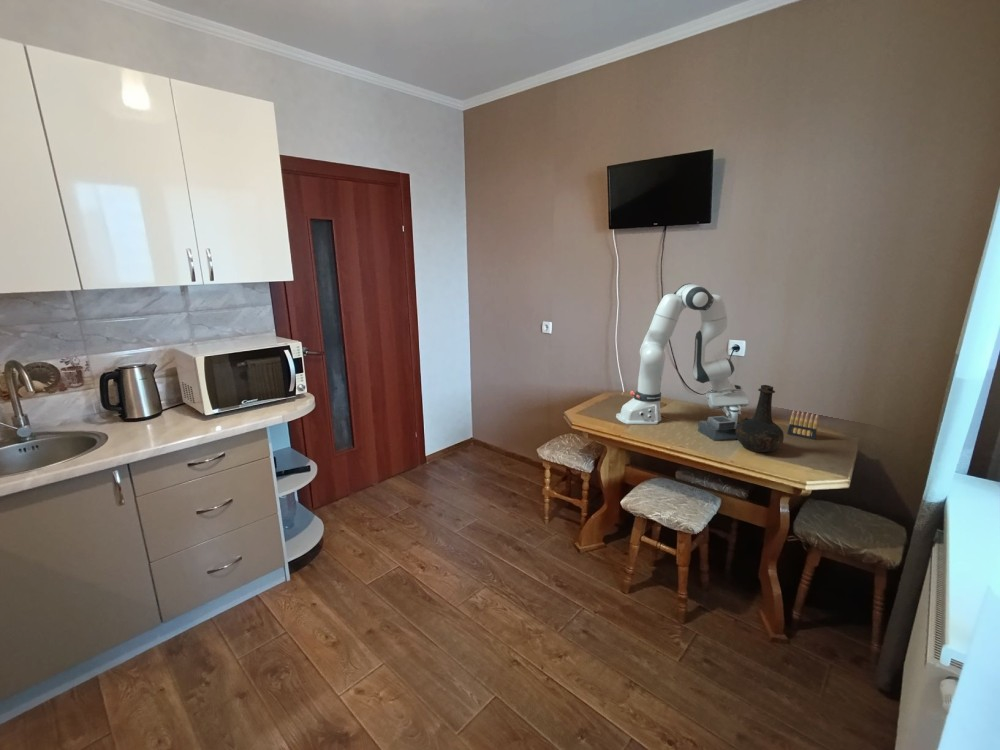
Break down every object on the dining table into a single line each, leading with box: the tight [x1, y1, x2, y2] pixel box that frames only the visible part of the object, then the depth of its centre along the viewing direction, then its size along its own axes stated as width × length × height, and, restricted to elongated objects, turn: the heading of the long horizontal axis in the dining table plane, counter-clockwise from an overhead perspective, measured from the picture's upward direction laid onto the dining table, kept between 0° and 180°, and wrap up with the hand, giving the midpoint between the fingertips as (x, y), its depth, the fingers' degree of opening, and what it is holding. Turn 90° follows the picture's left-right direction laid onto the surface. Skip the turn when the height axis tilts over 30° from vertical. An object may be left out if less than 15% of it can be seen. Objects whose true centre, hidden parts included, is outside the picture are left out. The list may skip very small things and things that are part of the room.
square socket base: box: [697, 415, 738, 442], centre depth 201 cm, size 14×12×8 cm
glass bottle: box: [735, 384, 785, 453], centre depth 184 cm, size 18×18×28 cm
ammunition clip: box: [786, 409, 819, 441], centre depth 198 cm, size 11×2×12 cm, turn 49°
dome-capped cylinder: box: [727, 406, 739, 425], centre depth 213 cm, size 4×4×9 cm
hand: (734, 415), depth 212 cm, fingers closed on dome-capped cylinder, 4 cm apart
